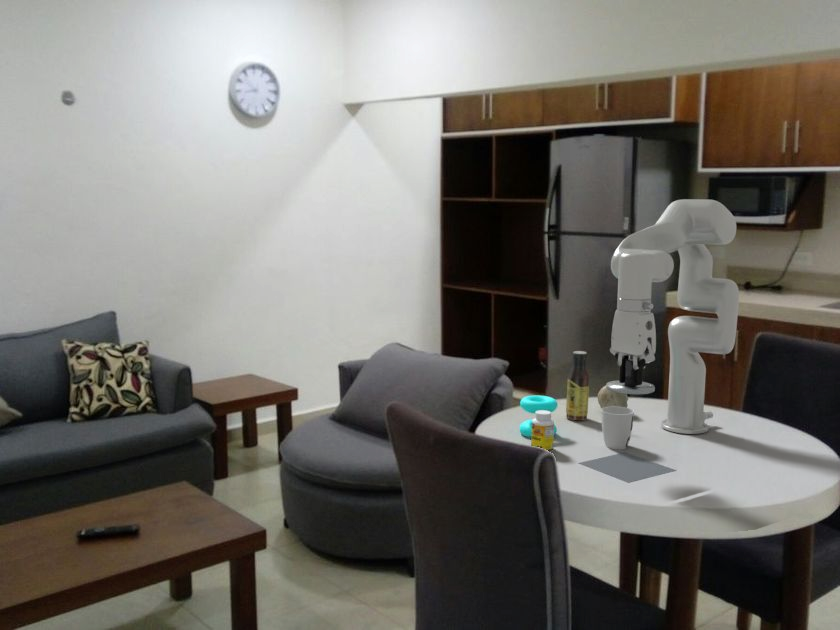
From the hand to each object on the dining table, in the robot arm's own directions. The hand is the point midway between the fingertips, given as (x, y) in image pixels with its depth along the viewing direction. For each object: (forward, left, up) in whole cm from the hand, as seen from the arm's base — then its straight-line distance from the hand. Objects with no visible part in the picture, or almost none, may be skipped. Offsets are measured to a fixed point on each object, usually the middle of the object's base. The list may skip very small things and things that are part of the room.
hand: (630, 383), depth 192 cm
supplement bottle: (+8, -21, -21) cm, 31 cm away
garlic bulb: (-35, -39, -21) cm, 56 cm away
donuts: (-1, -33, -21) cm, 39 cm away
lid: (0, 0, -1) cm, 1 cm away
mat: (0, 0, -21) cm, 21 cm away
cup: (-10, -13, -21) cm, 27 cm away
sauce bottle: (-21, -39, -21) cm, 49 cm away
